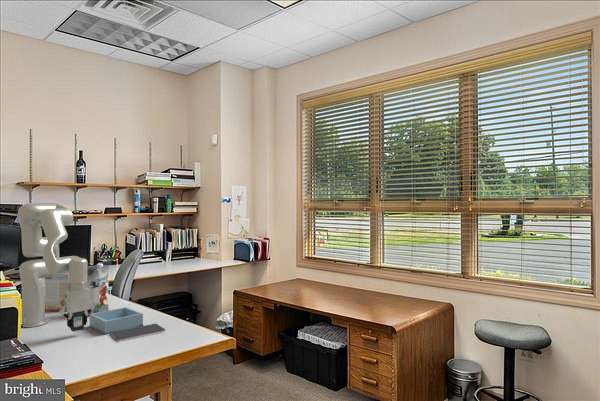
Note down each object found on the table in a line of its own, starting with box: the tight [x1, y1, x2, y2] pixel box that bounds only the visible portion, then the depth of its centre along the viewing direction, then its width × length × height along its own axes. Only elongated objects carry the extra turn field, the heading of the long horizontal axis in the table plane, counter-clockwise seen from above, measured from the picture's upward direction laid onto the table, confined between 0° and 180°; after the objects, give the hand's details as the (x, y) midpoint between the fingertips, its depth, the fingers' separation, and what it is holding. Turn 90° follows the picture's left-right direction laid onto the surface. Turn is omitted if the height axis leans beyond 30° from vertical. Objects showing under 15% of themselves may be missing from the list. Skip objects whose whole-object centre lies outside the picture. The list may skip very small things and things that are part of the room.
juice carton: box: [87, 262, 110, 316], centre depth 225 cm, size 9×10×27 cm
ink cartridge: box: [70, 311, 85, 332], centre depth 188 cm, size 5×2×8 cm, turn 131°
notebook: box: [109, 323, 166, 342], centre depth 192 cm, size 13×2×21 cm
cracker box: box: [44, 273, 69, 312], centre depth 232 cm, size 14×6×21 cm, turn 84°
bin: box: [89, 306, 144, 336], centre depth 203 cm, size 18×18×6 cm
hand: (77, 325), depth 188 cm, fingers closed on ink cartridge, 5 cm apart
